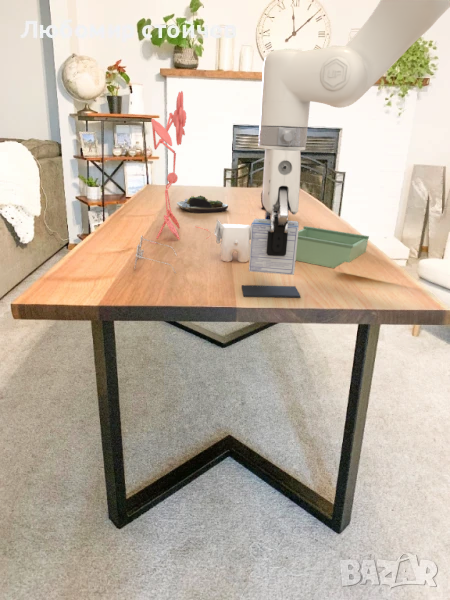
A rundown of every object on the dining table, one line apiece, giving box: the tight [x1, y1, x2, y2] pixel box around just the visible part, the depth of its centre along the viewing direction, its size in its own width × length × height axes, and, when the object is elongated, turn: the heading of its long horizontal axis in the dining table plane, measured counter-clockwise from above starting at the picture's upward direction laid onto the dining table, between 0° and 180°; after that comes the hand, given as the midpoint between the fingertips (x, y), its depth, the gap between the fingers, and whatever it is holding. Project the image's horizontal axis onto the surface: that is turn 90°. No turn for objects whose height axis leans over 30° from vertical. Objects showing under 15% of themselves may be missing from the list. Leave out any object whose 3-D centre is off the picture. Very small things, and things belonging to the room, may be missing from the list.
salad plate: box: [176, 195, 229, 214], centre depth 158 cm, size 19×18×5 cm
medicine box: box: [248, 218, 300, 276], centre depth 77 cm, size 8×4×9 cm, turn 81°
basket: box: [296, 225, 370, 269], centre depth 101 cm, size 16×12×6 cm
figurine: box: [149, 90, 214, 244], centre depth 112 cm, size 15×26×35 cm, turn 2°
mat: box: [241, 284, 301, 299], centre depth 80 cm, size 10×5×1 cm, turn 92°
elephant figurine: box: [213, 218, 251, 263], centre depth 98 cm, size 10×12×9 cm
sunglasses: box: [133, 235, 178, 274], centre depth 93 cm, size 14×8×5 cm, turn 5°
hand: (273, 249), depth 77 cm, fingers closed on medicine box, 5 cm apart
